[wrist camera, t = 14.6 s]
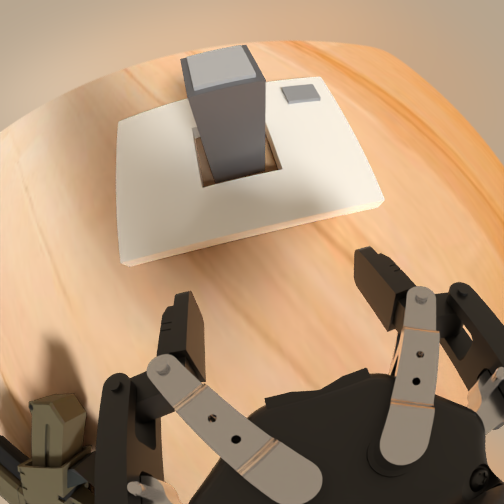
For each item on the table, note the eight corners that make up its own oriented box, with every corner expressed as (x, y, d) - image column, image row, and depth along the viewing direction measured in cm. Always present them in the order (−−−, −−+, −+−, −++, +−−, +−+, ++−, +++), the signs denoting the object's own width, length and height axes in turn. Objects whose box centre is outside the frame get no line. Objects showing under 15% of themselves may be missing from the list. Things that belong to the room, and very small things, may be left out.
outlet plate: (129, 266, 19) (117, 261, 17) (124, 130, 23) (116, 119, 21) (377, 207, 20) (386, 197, 18) (318, 87, 23) (321, 73, 21)
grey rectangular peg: (215, 183, 21) (186, 93, 11) (206, 145, 22) (179, 55, 12) (264, 171, 21) (265, 76, 11) (251, 134, 22) (245, 41, 12)
